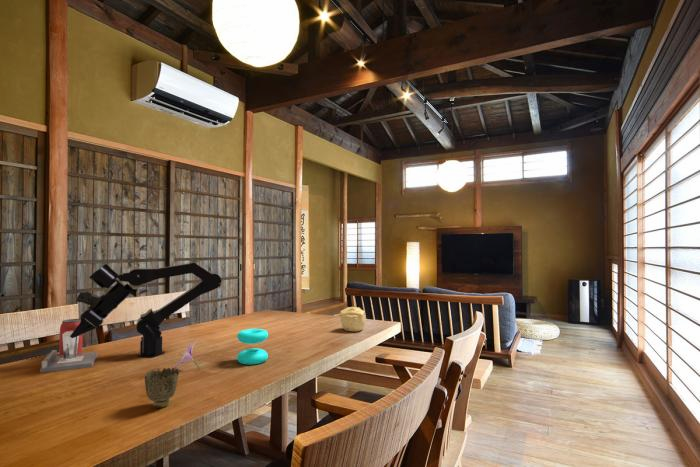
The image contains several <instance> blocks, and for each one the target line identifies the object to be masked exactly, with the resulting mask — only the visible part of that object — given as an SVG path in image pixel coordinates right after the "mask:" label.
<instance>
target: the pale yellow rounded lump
mask: <svg viewBox="0 0 700 467" xmlns="http://www.w3.org/2000/svg"><path fill="white" fill-rule="evenodd" d="M365 313H366V312H365V310H363V309H362V308H361V307H360V306H359V307H356V306H350V307H349V306H347V307H346V308H344V309H342V310H340V320H339V321H340V324H341V326H342V328H343V330H344V331H347V332H359V331H362V330H364V328H365V326H366V321H367V318H366V315H365Z"/></svg>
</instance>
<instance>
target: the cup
mask: <svg viewBox="0 0 700 467" xmlns="http://www.w3.org/2000/svg"><path fill="white" fill-rule="evenodd" d="M143 375H144V385H145V393H146V396H147V398H148V399H149V400H150V401H152V406H153V407H154V408H156V409H161V408H165V407H167V406H168V405H169V404H170V403H171V400H170V399H171V398H172V397H173V396H174V394H175V393H176V391H177V386H178V380H179V379H178V378H179V369H178V368H175V367H174V368H173V367H172V369H171V368H170V367H167V368H166V367H163V369H162V370H160V368H158V369H157V371H156V370H153V369H151V370H150V371H147V372H146V374H143Z"/></svg>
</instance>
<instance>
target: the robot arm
mask: <svg viewBox="0 0 700 467" xmlns="http://www.w3.org/2000/svg"><path fill="white" fill-rule="evenodd" d="M188 274H192V275H194V276H196V277H197V278H198V279H199V280H198V281H197V282H196V283H195V285H194V286H192V287H191V288H189V289H188V290H186V291H184V292H183V293H181V295H178V296H177V297H176V298H173V299H172V300H171V301H169V302H168V303H167V304H165V305H163V306H162V307H161V308H158V309H156V310H153V309H152V308H150V309H148V310H147V311H146V312H145V313H141V314H140V317H139V318H138V320H137V321H136V326H135V328H136V331H137V333H138V334H140V335H142V336H141V337H140V338H141V340H140V342H139V344H140V345H139V346H140V349H139V350H140V351H139V353H137V357H146V358H154V357H157V356H160V355H162V354H166V351H165V350H163V336H162V328H161V327H160V325H161V324H162V323H163V322H164V321H165V320H166V319H167V318H168V317H170V316H171V315H173V314H174V313H176V312H178V311H179V310H181V309H182V308H183V307H185V306H187V305H189V303H191V302H192V301H194V300H196V299H197V298H198V297H200V296H201V295H204V294H208V293H209V292H212V291H214V290H215V289H218V288H219V287H221V285H222V277H221V276H220V275H219V274H217V273H215V272H209V271H208V270H207V269H205V268H203V267H202V266H200V265H199V264H198V263H197V262H194V261H191V262H188V263H181V264H177V265H171V266H165V267H158V268H157V267H156V268H146V267H145V268H142V267H140V268H139V267H138V268H137V267H136V268H133V269H131V270H130V271H129V272H125V273H124V272H122V273H117V271H115V269H114V268H112V267H111V266H110V265H109V264H108V263H105V264H103V265H102V266H101V267H100V268H99V269H96V271H94V272H93V273H92V274H91V275H89V277H88V279H89V280H91V282H93V283H94V284H96V285H97V286H98V287H99V288H100V289H102V290H103V289H104V288H105V289H108V290H107V292H105V293H104V294H101V296H99V295H97V294H94V293H92V292H90V291H87V290H86V291H85V290H81V291H80V292H79V293H78V295H77V297H76V299H75V302H78V303H83V304H85V305H89V307H87V309H85V311H84V312H82V314H80V318H79V319H81V322H80V324H79V325H78V326H77V328H76V329H75V330H74V331H73V333H72V334H71V335H70V337H71V338H75V337H77V336H79V335H81V334H83V335H84V334H86V333H88V332H90V331H93V330H95V329H97V328H99V327H100V326H101V325H103V323H104V320H105V319H106V318H107V317H108V316H109V315H110V314H111V313H112V312H113V311H114V310H116V309H117V308H118V306H119V305H121V304H122V302H124V301H125V300H126V299H127V298H128V297H129V296H130V295H131V296H133V297H134V298H136V297H137V296H138V292H137V291H138V288H133V286H134V287H138V286H141V285H145V284H147V283H151V282H153V281H155V280H160V279H164V278H165V279H166V278H170V277H176V276H177V277H178V276H183V275H188ZM123 282H124V283H125V282H127V283H126V284H124V283H123ZM113 284H115V285H113ZM112 285H113V286H112ZM111 286H112V287H111ZM110 287H111V288H110Z"/></svg>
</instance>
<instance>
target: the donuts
mask: <svg viewBox="0 0 700 467" xmlns="http://www.w3.org/2000/svg"><path fill="white" fill-rule="evenodd" d="M268 337H269V333H268V331H267V330H265V329H263V328H262V329H261V328H248V329H243V330H241V331H239V332H237V335H236V338H237V340H238V341H239V342H240V343H242V344H245V345H246V344H247V345H249V344H250V345H254V344H260V343H263V342H265V341H266V340H267V339H268ZM268 358H269V354H268V352H267V351H266V350H264V349H262V348H255V347H254V348H246V349H244V350H241V351H240V352H238V354H237V355H236V360H237V362H238V363H239V364H242V365H246V366H248V365H249V366H250V365H251V366H252V365H259V364H262V363H265V362H266V361H267V359H268Z"/></svg>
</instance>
